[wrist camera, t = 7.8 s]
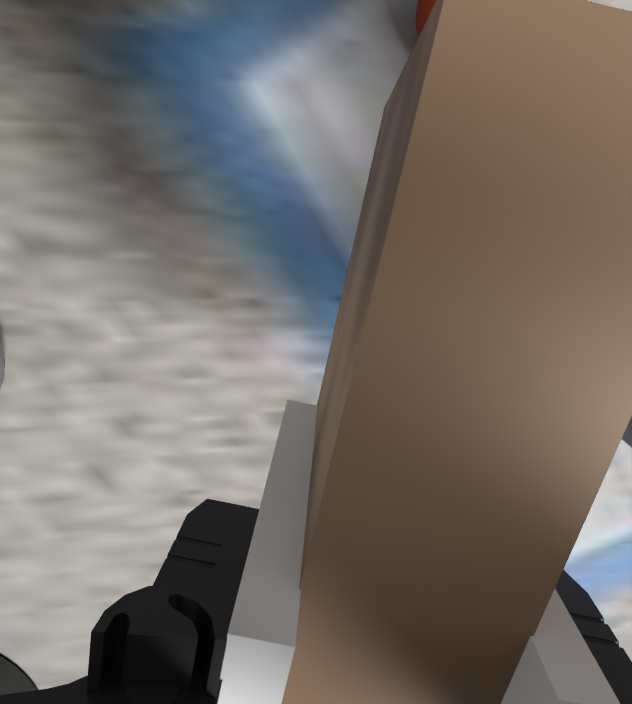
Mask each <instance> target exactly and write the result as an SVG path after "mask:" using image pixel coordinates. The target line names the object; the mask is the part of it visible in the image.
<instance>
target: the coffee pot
mask: <svg viewBox="0 0 632 704" xmlns="http://www.w3.org/2000/svg"><path fill="white" fill-rule="evenodd" d="M4 368H5V359H4V354H3V349H2V343H1V340H0V388H1V385H2V383H3V379H4Z"/></svg>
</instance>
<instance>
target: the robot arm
mask: <svg viewBox="0 0 632 704" xmlns="http://www.w3.org/2000/svg"><path fill="white" fill-rule="evenodd" d="M317 407H318V406H316V405H311V404H306V403H301V402H297V401H292V400H287V404H286V408H285V412H284V416H283V419H282V423H281V427H280V431H279V435H278V439H277V443H276V447H275V451H274V454H273V458H272V462H271V466H270V470H269V474H268V478H267V482H266V486H265V489H264V493H263V497H262V501H261V505H260V509H256V508H251V507H246V506H241V505H236V504H231V503H226V502H221V501H216V500H211V499H206V500H205V501H204V502H202V503H201V504H200V505H199V506H197V507H196V508H195V509H193V510H192V511H191V512H190V513H188V514H187V516H186V518H185V520H184V522H183V524H182V526H181V528H180V530H179V533H178V535H177V538H176V540H175V541H174V543H173V545H172V547H171V549H170V551H169V553H168V556H167V559H165V561H164V563H163V565H162V568H161V570H160V572H159V574H158V576H157V578H156V580H155V582H154V584H153V586H148V587H145V588H142V589H140V590H137V591H134V592H132V593H129V594H126V595H124V596H123V597H122V598H121V599H119V600H118V601H117V602H115V603H114V604H113V605H111V606H110V607H109V608H108V609H106V610H105V611H104V613H103V614H102V616H101V617H100V619H99V621H98V622H97V624H96V625H95V627H94V628H93V630H92V632H91V643H90V656H89V668H88V676H85V677H83V678H81V679H78V680H76V681H74V682H72V683H69V684H66V685H61V686H57V687H53V688H49V689H42V690H37V689H36V688H35V686H34V685H33V684H32V682H31V681H30V680H29V679H28V678H27V677H26V675H25V674H24V673H23V672H21V671H20V670H19V669H18V668H17V667H16V666H14V665H13V664H12V663H10V662H9V661H7V660H6V659H4V658H3V657H1V656H0V704H281V703H282V699H283V695H284V691H285V687H286V683H287V679H288V675H289V671H290V667H291V663H292V659H293V655H294V651H295V646H296V636H297V625H298V615H299V604H300V594H301V590H299V586H300V576H301V566H302V556H303V546H304V536H305V526H306V516H307V506H308V496H309V486H310V477H311V467H312V457H313V447H314V437H315V427H316V417H317ZM501 704H632V662H631V660H630V659H629V657H628V656H627V654H626V652H625V651H624V649H623V648H620V647H619V641H618V640H617V638H616V637H615V635H614V634H613V632H612V630H611V629H610V627H609V626H608V625H607V624H604V618H603V616H602V615H601V613H600V612H599V610H598V609H597V607H596V606H595V604H594V602H593V601H592V599H591V598H590V596H589V595H588V593H587V592H586V591H585V590H584V589H583V588H582V587H581V586H580V585H579V584H578V583H577V582H576V581H575V580H574V579H572V578H571V577H570V576H569V575H568V574H567V573H566V572H565V571H564V570H563V571H562V573H561V576H560V578H559V580H558V582H557V585H556V587H555V589H554V591H553V594H552V596H551V598H550V600H549V603H548V605H547V607H546V609H545V612H544V614H543V616H542V618H541V620H540V623H539V625H538V627H537V629H536V632H535V634H534V636H530V638H529V641H528V643H527V645H526V647H525V650H524V652H523V654H522V657H521V659H520V661H519V663H518V666H517V668H516V670H515V673H514V675H513V677H512V679H511V682H510V684H509V686H508V688H507V691H506V693H505V695H504V698H503V700H502V702H501Z"/></svg>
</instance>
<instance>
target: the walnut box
mask: <svg viewBox="0 0 632 704" xmlns="http://www.w3.org/2000/svg"><path fill="white" fill-rule="evenodd" d="M317 406H318V407H317V417H316V427H315V437H314V447H313V457H312V467H311V477H310V486H309V496H308V506H307V516H306V526H305V536H304V546H303V556H302V566H301V576H300V586H299V590H301V594H300V604H299V615H298V625H297V636H296V646H295V651H294V655H293V659H292V663H291V667H290V671H289V675H288V679H287V683H286V687H285V691H284V695H283V699H282V703H281V704H501V702H502V700H503V698H504V695H505V693H506V691H507V688H508V686H509V684H510V682H511V679H512V677H513V675H514V673H515V670H516V668H517V666H518V663H519V661H520V659H521V657H522V654H523V652H524V650H525V647H526V645H527V643H528V641H529V638H530V636H534V634H535V632H536V629H537V627H538V625H539V623H540V620H541V618H542V616H543V614H544V612H545V609H546V607H547V605H548V603H549V600H550V598H551V596H552V594H553V591H554V589H555V587H556V585H557V582H558V580H559V578H560V576H561V573H562V571H563V569H564V567H565V564H566V562H567V560H568V558H569V555H570V553H571V551H572V549H573V547H574V544H575V542H576V540H577V538H578V535H579V533H580V531H581V529H582V526H583V524H584V522H585V520H586V517H587V515H588V513H589V511H590V508H591V506H592V504H593V502H594V499H595V497H596V495H597V493H598V490H599V488H600V486H601V484H602V481H603V479H604V477H605V475H606V473H607V470H608V468H609V466H610V464H611V461H612V459H613V457H614V455H615V452H616V450H617V448H618V446H619V443H620V441H621V439H622V437H623V434H624V432H625V430H626V428H627V425H628V423H629V421H630V419H631V416H632V11H627V10H623V9H618V8H614V7H610V6H605V5H601V4H597V3H592V2H588V1H583V0H437V1H436V3H435V5H434V7H433V9H432V11H431V13H430V15H429V17H428V19H427V21H426V23H425V25H424V28H423V30H422V32H421V34H420V36H419V38H418V40H417V42H416V44H415V46H414V48H413V50H412V52H411V54H410V56H409V58H408V61H407V63H406V65H405V67H404V69H403V71H402V73H401V75H400V77H399V79H398V81H397V83H396V85H395V87H394V89H393V92H392V94H391V96H390V98H389V100H388V102H387V104H386V106H385V108H384V112H383V117H382V121H381V126H380V130H379V134H378V139H377V143H376V148H375V152H374V156H373V161H372V165H371V170H370V174H369V178H368V183H367V187H366V192H365V196H364V201H363V205H362V209H361V214H360V218H359V223H358V227H357V231H356V236H355V240H354V245H353V249H352V253H351V258H350V262H349V267H348V271H347V276H346V280H345V284H344V289H343V293H342V298H341V302H340V306H339V311H338V315H337V320H336V324H335V328H334V333H333V337H332V342H331V346H330V351H329V355H328V359H327V364H326V368H325V373H324V377H323V381H322V386H321V390H320V395H319V399H318V403H317Z"/></svg>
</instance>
